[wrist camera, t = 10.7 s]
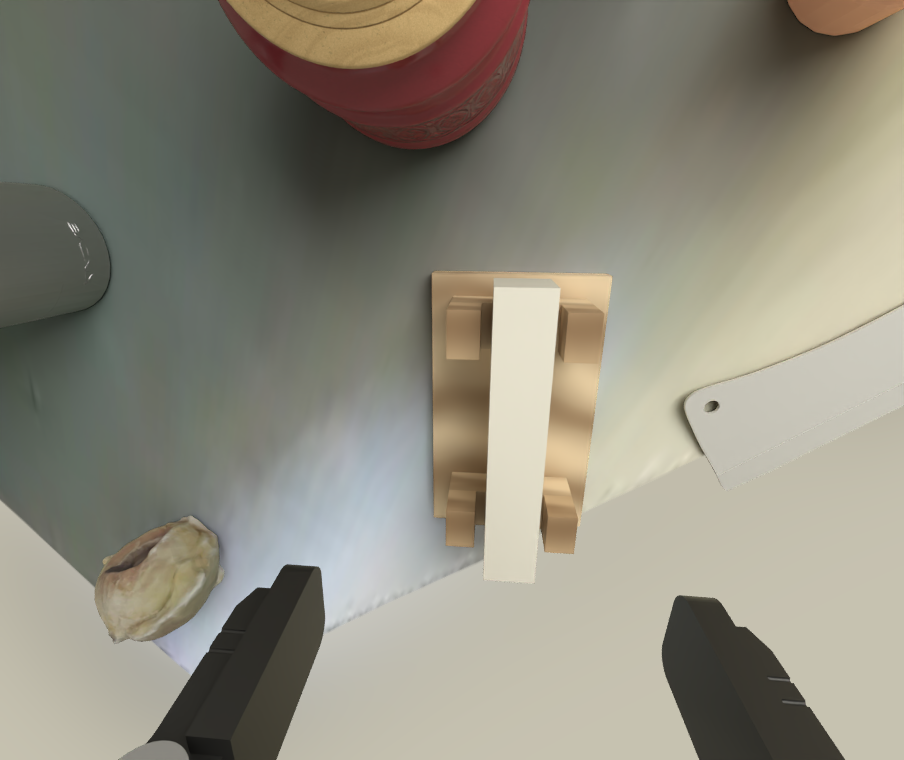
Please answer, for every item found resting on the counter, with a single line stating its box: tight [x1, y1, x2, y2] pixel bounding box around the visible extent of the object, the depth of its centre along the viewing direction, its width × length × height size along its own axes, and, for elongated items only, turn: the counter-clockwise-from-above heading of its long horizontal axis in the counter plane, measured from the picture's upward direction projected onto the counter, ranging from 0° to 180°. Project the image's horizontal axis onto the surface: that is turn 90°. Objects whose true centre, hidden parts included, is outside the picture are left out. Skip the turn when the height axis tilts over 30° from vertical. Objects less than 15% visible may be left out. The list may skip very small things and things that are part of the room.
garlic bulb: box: [95, 516, 224, 644], centre depth 38 cm, size 9×8×10 cm
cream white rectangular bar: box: [483, 278, 561, 584], centre depth 29 cm, size 20×4×4 cm, turn 0°
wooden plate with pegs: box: [432, 271, 612, 554], centre depth 31 cm, size 20×12×6 cm, turn 0°
